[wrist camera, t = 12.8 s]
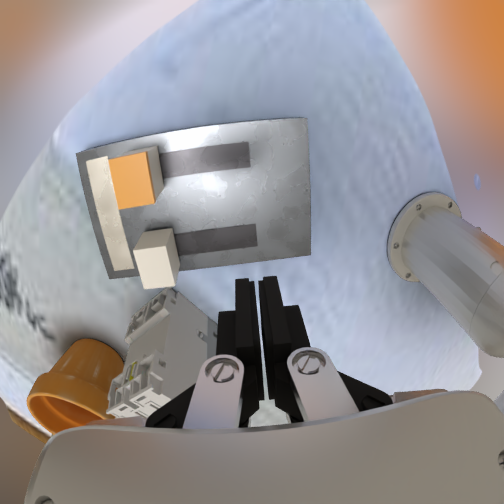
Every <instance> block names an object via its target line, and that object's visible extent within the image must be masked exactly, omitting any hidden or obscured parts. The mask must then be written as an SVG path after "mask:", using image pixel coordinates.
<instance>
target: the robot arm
mask: <svg viewBox="0 0 504 504" xmlns="http://www.w3.org/2000/svg"><path fill="white" fill-rule="evenodd" d="M387 248H388V259H389V262H390V265H391V267H392V268H393V270H394V271H395V272H396V273H397V274H398V275H399V276H400V277H401V278H402V279H404V280H406V281H410V282H421V283H422V284H423V285H424V286H425V287H426V288H427V289H428V290H429V291H430V292H431V293H432V294H433V295H434V296H435V298H436V299H437V300H438V301H439V302H440V303H441V304H442V305H443V306H444V307H445V309H446V310H447V311H448V312H449V313H450V314H451V315H452V316H453V318H454V319H455V320H456V321H457V322H458V323H459V325H460V326H461V327H462V328H463V329H464V330H465V332H466V333H467V334H468V335H469V336H470V338H471V339H472V340H473V341H474V342H475V344H476V345H477V346H478V347H479V348H480V349H481V350H482V351H483V352H485V353H486V354H488V355H490V356H494V357H499V358H504V246H503V245H501V244H500V243H498V242H497V241H495V240H494V239H493V238H491V237H490V236H488V235H487V234H485V233H484V232H482V231H481V229H480V227H474V226H473V225H471V224H470V223H468V222H467V221H465V220H464V219H462V216H461V212H460V210H459V208H458V206H457V204H456V203H455V202H454V201H453V200H452V199H451V198H449V197H448V196H446V195H444V194H442V193H437V192H429V193H425V194H422V195H420V196H418V197H416V198H414V199H413V200H412V201H411V202H409V203H408V204H407V205H406V206H405V207H404V208H403V210H402V211H401V212H400V214H399V215H398V217H397V218H396V220H395V222H394V224H393V226H392V228H391V232H390V235H389V239H388V245H387ZM258 284H259V299H260V313H261V328H262V340H263V349H264V358H265V367H266V376H267V385H268V395H269V400H271V399H275V407H278V408H279V409H281V410H282V411H284V412H286V417H287V421H288V423H289V424H282V425H272V426H261V427H250V426H251V416H252V415H253V414H254V413H255V412H256V411H257V410H258V409H259V401H260V400H264V386H263V372H262V358H261V345H260V335H259V325H258V315H257V305H256V295H255V285H254V281H250V282H249V278H244V279H236V280H235V311H222V312H219V315H218V329H217V344H216V356H214V357H211V358H210V359H208V360H207V361H205V362H204V363H203V365H202V367H201V369H200V372H199V376H198V379H197V382H196V383H195V384H193V385H192V386H191V387H189V388H188V389H186V390H185V391H184V392H182V393H181V394H179V395H178V396H176V397H175V398H174V399H172V400H171V401H169V402H168V403H166V404H165V405H163V406H162V407H160V408H159V409H157V410H156V411H154V412H153V413H152V414H151V415H150V416H149V417H148V418H142V416H134V417H126V418H116V419H105V420H95V421H91V422H89V423H87V424H86V425H85V426H79V427H74V428H69V429H66V430H63V431H61V432H58V433H57V434H55V435H53V436H52V437H51V438H50V439H49V440H48V442H47V443H46V444H45V446H44V448H43V450H42V452H41V454H40V456H39V458H38V460H37V463H36V465H35V468H34V471H33V474H32V476H31V480H30V483H29V486H28V490H27V493H26V497H25V501H24V504H504V390H503V392H502V393H501V394H500V395H499V396H498V397H497V399H496V400H495V401H494V402H493V401H492V400H491V399H490V398H489V397H487V396H486V395H484V394H482V393H479V392H474V391H457V390H456V391H447V390H445V389H432V390H421V391H408V392H394V394H393V395H388V394H386V393H385V392H383V391H381V390H379V389H376V388H374V387H372V386H370V385H367V384H365V383H363V382H361V381H358V380H356V379H354V378H352V377H350V376H347V375H345V374H343V373H341V372H339V371H337V370H336V368H335V366H334V365H333V363H332V361H331V359H330V357H329V356H328V355H327V354H326V353H325V352H324V351H322V350H321V349H318V348H314V347H311V346H310V343H309V339H308V336H307V332H306V329H305V325H304V322H303V318H302V315H301V311H300V308H299V306H298V305H293V306H283V302H282V298H281V293H280V289H279V284H278V280H277V276H268V277H263V280H262V281H258Z"/></svg>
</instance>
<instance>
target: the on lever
mask: <svg viewBox="0 0 504 504" xmlns="http://www.w3.org/2000/svg"><path fill="white" fill-rule="evenodd" d="M133 253H134V256H135V260H136V263H137V267H138V270H139V273H140V277H141V280H142V283H143V286H144V289H152V288H161V287H171V286H175V285H176V281H177V276H178V272H179V267H180V262H179V257H178V253H177V248H176V243H175V238H174V234H173V229H172V228H169V229H161V230H154V231H147V232H143V233H142V235H141V237H140V239H139V240H138V242H137V244H136V246H135V248H134V249H133Z"/></svg>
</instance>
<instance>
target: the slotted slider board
mask: <svg viewBox="0 0 504 504" xmlns="http://www.w3.org/2000/svg"><path fill="white" fill-rule="evenodd" d="M153 146H157V147H158V153H159V160H160V166H161V172H162V178H163V184H164V189H163V191H162V192H161V193H160V195H159V196H158V198H157V199H156V202H155V204H149V205H143V206H137V207H131V208H126V209H120V210H119V209H118V205H117V201H116V196H115V192H114V187H113V182H112V177H111V172H110V167H109V162H108V160H109V159H112V158H115V157H117V156H119V155H121V154H123V153H125V152H128V151H133V150H137V149H142V148H147V147H153ZM76 157H77V162H78V167H79V172H80V177H81V181H82V186H83V190H84V194H85V198H86V202H87V206H88V210H89V214H90V218H91V221H92V225H93V229H94V232H95V236H96V239H97V242H98V246H99V249H100V252H101V255H102V258H103V261H104V264H105V267H106V270H107V273H108V276H109V279H116V278H125V277H133V276H140V273H139V270H138V267H137V263H136V260H135V256H134V253H133V249H134V248H135V246H136V244H137V242H138V240H139V239H140V237H141V235H142V233H143V232H147V231H154V230H161V229H169V228H172V229H173V234H174V238H175V243H176V248H177V253H178V257H179V262H180V267H179V271H185V270H194V269H202V268H211V267H219V266H227V265H235V264H243V263H252V262H260V261H268V260H276V259H284V258H291V257H299V256H307V255H311V205H310V168H309V144H308V125H307V118H279V119H264V120H251V121H240V122H231V123H222V124H214V125H206V126H199V127H192V128H185V129H179V130H173V131H167V132H162V133H156V134H151V135H146V136H141V137H136V138H132V139H127V140H123V141H119V142H114V143H110V144H106V145H102V146H98V147H94V148H91V149H87V150H84V151H81V152H79V153H76Z"/></svg>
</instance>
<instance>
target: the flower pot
mask: <svg viewBox="0 0 504 504" xmlns="http://www.w3.org/2000/svg"><path fill="white" fill-rule="evenodd" d="M123 368H124V364H123V361H122V359H121V357H120V356H119V354H118V353H117V352H116V351H115V350H114V349H112V348H111V347H110V346H108V345H106V344H104V343H102V342H100V341H97V340H94V339H80V340H78V341H76V342H75V343H74V344H73V345H72V346H71V347H70V348H69V349H68V350H67V351H66V352H65V354H64V355H63V356H62V357H61V358H60V359H59V360H58V362H57V363H56V364H55V365H54V367H53V368H52V369H51V370H50V371H49V372H48V373H44V374H42V375H40V376H39V377H38V378H37V380H36V381H35V383H34V385H33V387H32V389H31V391H30V393H29V395H28V397H27V406H28V409H29V411H30V413H31V414H32V416H33V417H34V418H35V419H36V420H37V421H38V422H39V423H40V424H41V425H42V426H43V427H44V428H45V429H47V430H48V431H49V432H51V433H52V434H54V435H55V434H57V433H58V432H61V431H63V430H66V429H69V428H74V427H79V426H85V425H86V424H87V423H89V422H91V421H95V420H105V419H115V416H114V415H112V414H107V413H106V410H107V409H108V406H109V400H107V399H108V393H109V390H110V386H111V382H112V379H114V378H115V377H117V376H118V375H120V374H121V373H122V372H123ZM117 389H118V388H117V387H116V389H115V392H116V390H117Z"/></svg>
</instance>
